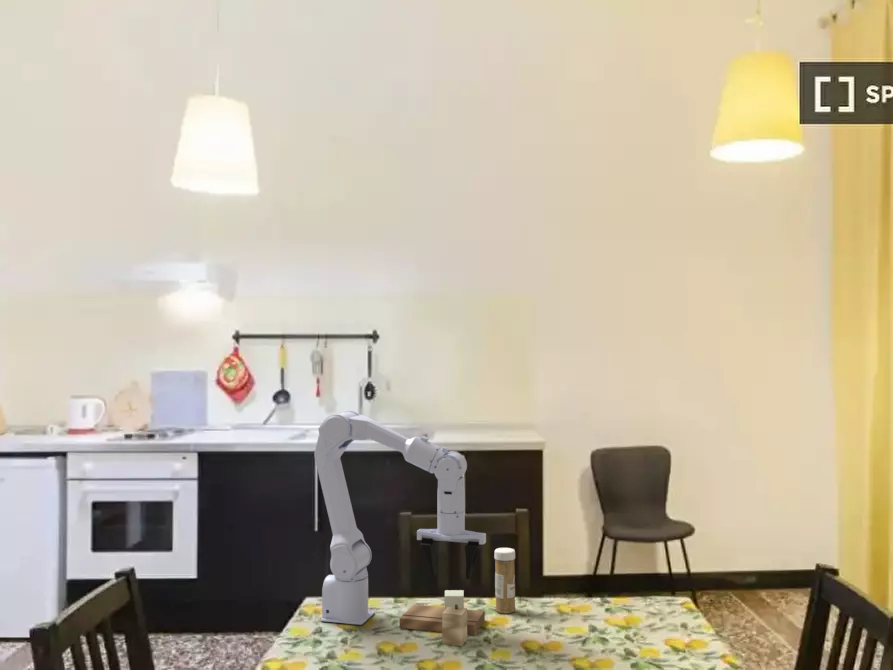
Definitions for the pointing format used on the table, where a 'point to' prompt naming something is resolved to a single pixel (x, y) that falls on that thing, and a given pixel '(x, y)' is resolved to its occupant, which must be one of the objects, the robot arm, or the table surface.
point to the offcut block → (454, 598)
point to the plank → (437, 619)
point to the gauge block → (454, 626)
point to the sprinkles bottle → (504, 580)
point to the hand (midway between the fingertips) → (451, 576)
